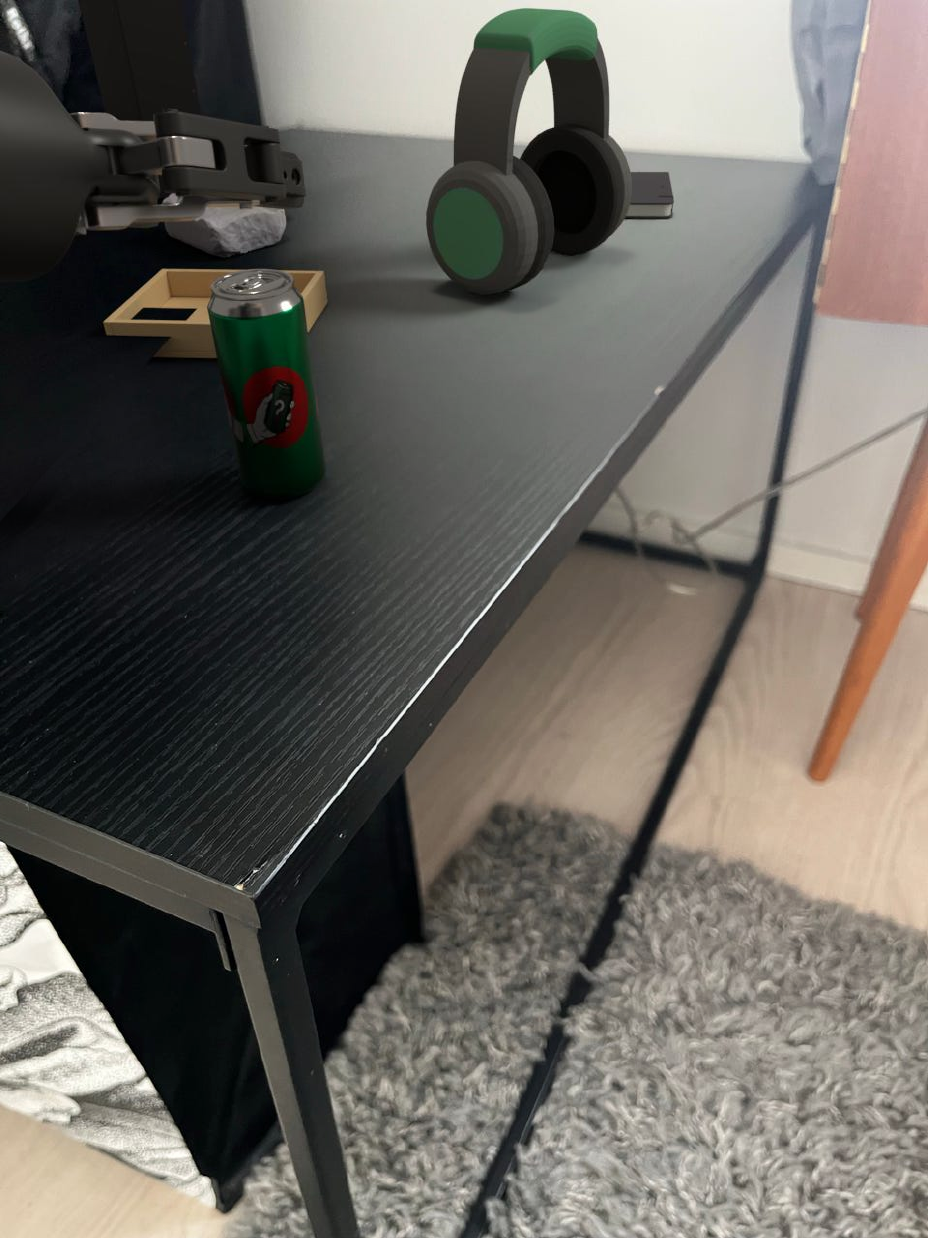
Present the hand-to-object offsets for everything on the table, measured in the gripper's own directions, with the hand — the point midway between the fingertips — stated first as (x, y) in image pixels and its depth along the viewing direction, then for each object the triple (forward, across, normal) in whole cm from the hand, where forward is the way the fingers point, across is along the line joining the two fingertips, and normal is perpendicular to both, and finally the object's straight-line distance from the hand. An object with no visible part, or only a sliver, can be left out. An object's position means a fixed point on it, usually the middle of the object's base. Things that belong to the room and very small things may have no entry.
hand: (220, 193), depth 44 cm
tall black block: (+57, +54, -10) cm, 79 cm away
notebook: (+68, +7, -4) cm, 69 cm away
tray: (+25, +22, +6) cm, 34 cm away
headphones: (+47, +3, +3) cm, 47 cm away
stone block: (+45, +35, -2) cm, 57 cm away
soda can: (+8, +4, +15) cm, 18 cm away
